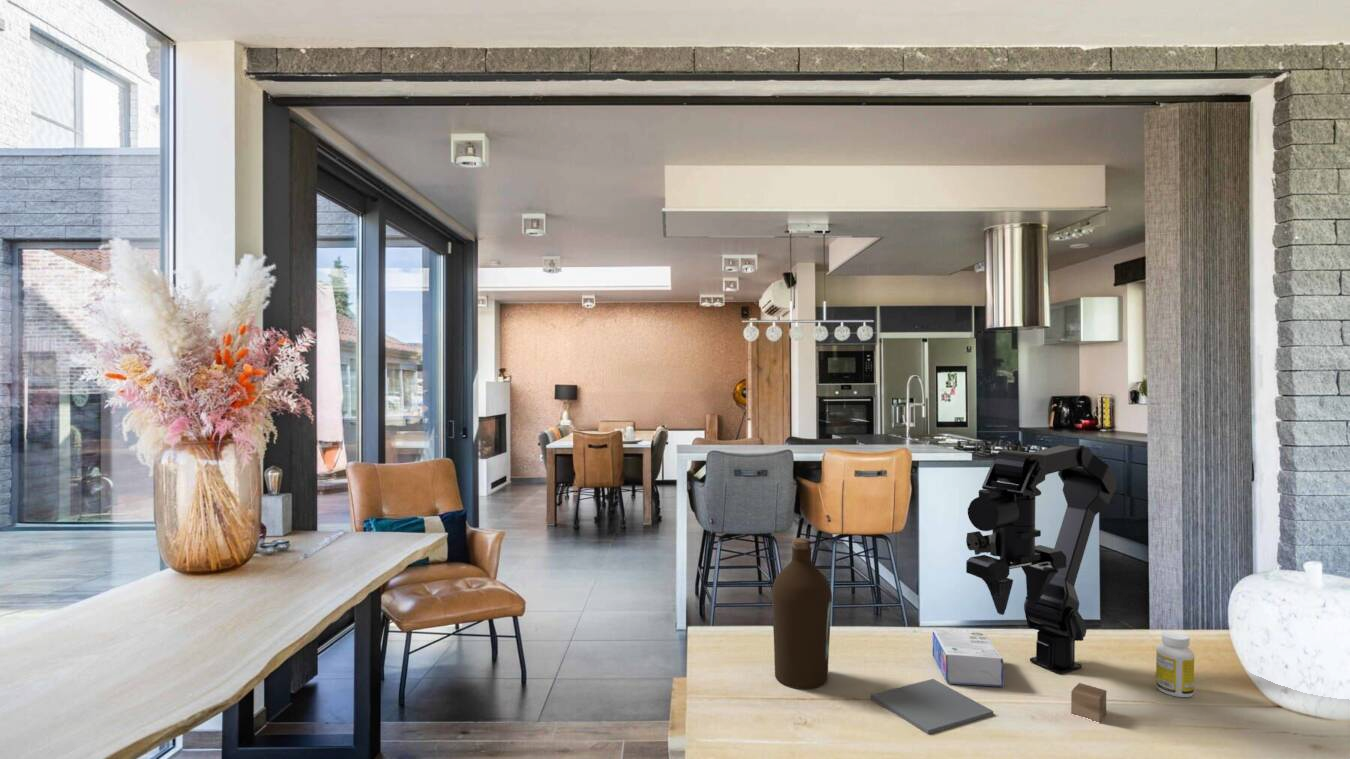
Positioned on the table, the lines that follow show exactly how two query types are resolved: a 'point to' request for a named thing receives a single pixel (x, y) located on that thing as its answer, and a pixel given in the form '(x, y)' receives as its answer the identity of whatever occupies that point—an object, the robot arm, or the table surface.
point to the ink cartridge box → (967, 658)
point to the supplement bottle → (1175, 665)
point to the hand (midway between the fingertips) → (1016, 610)
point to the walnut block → (1088, 702)
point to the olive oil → (801, 621)
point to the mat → (931, 705)
